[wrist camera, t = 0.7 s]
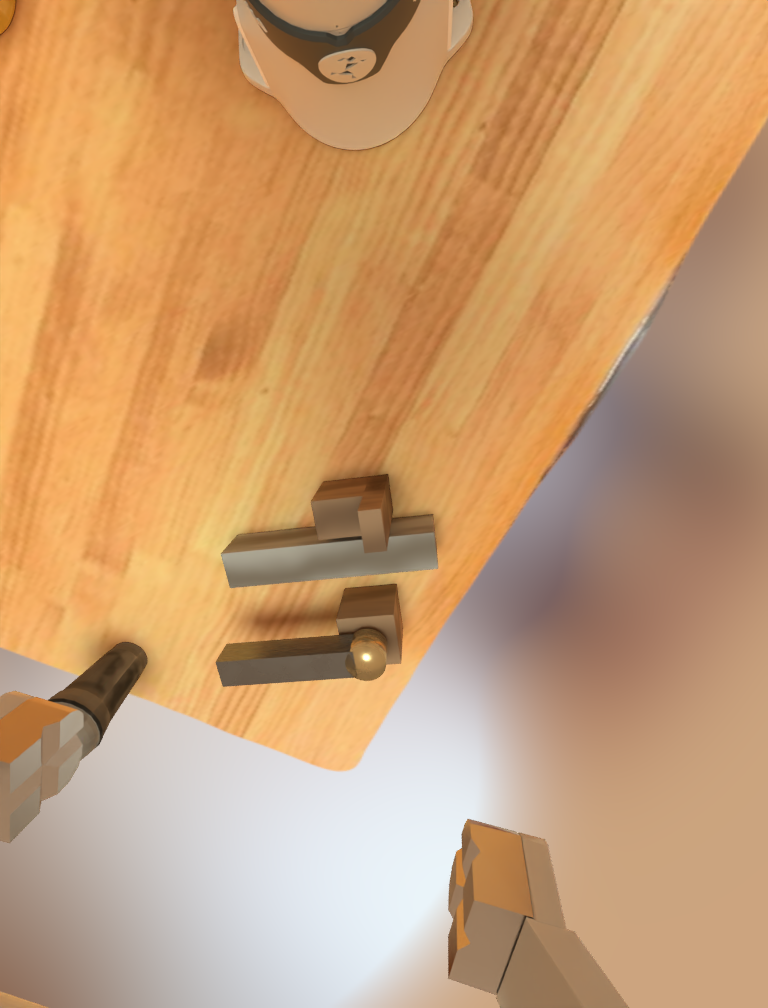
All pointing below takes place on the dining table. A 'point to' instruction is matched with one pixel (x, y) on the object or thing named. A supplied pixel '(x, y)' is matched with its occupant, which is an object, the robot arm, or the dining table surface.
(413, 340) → the dining table surface
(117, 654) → the beverage cup
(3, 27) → the plant pot
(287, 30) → the robot arm
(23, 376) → the dining table surface
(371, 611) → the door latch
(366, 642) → the bar
